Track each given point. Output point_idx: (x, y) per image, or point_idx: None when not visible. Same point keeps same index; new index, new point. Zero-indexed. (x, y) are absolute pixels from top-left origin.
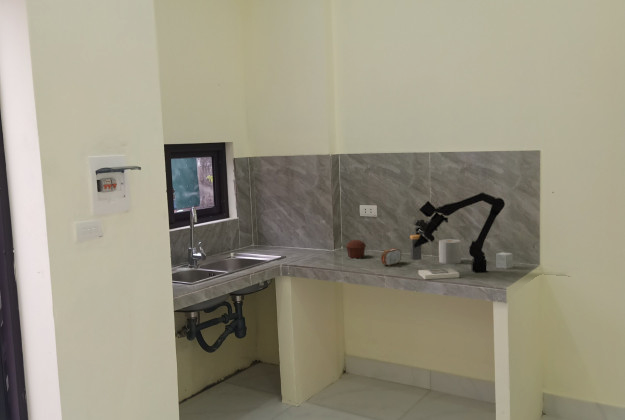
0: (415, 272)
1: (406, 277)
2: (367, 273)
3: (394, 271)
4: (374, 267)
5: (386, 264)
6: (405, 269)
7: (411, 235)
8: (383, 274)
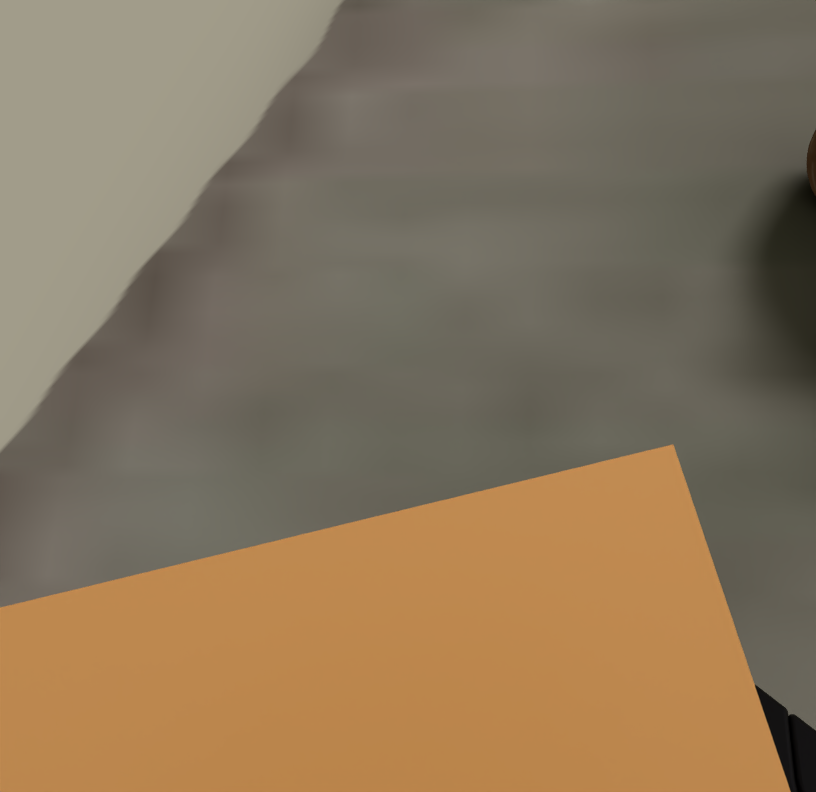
0: None
1: (56, 453)
2: (349, 7)
3: (455, 300)
4: (704, 65)
5: (811, 186)
6: (588, 444)
7: (505, 568)
8: (277, 174)
